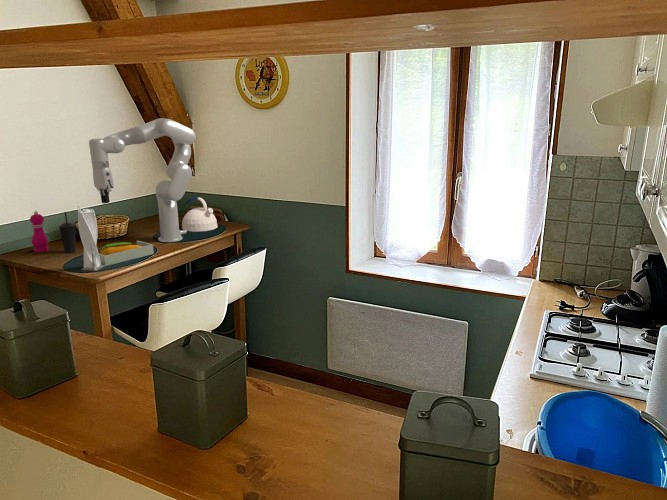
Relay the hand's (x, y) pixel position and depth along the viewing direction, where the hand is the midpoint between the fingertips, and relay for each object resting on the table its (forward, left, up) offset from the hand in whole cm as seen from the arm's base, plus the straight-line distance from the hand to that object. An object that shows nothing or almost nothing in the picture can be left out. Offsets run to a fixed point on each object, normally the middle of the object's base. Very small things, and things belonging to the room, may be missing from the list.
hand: (105, 202), depth 271 cm
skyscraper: (+21, +20, -24) cm, 38 cm away
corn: (+3, +15, -24) cm, 29 cm away
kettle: (-59, -4, -24) cm, 64 cm away
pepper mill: (+22, -26, -24) cm, 42 cm away
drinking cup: (+14, -13, -24) cm, 31 cm away
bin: (+3, +16, -24) cm, 29 cm away
